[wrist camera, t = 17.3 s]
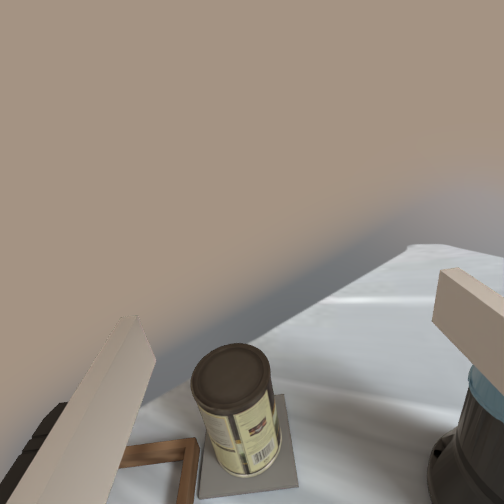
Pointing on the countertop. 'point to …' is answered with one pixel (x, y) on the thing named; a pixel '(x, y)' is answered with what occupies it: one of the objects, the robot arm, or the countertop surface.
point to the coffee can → (238, 408)
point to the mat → (273, 478)
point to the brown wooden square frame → (168, 453)
